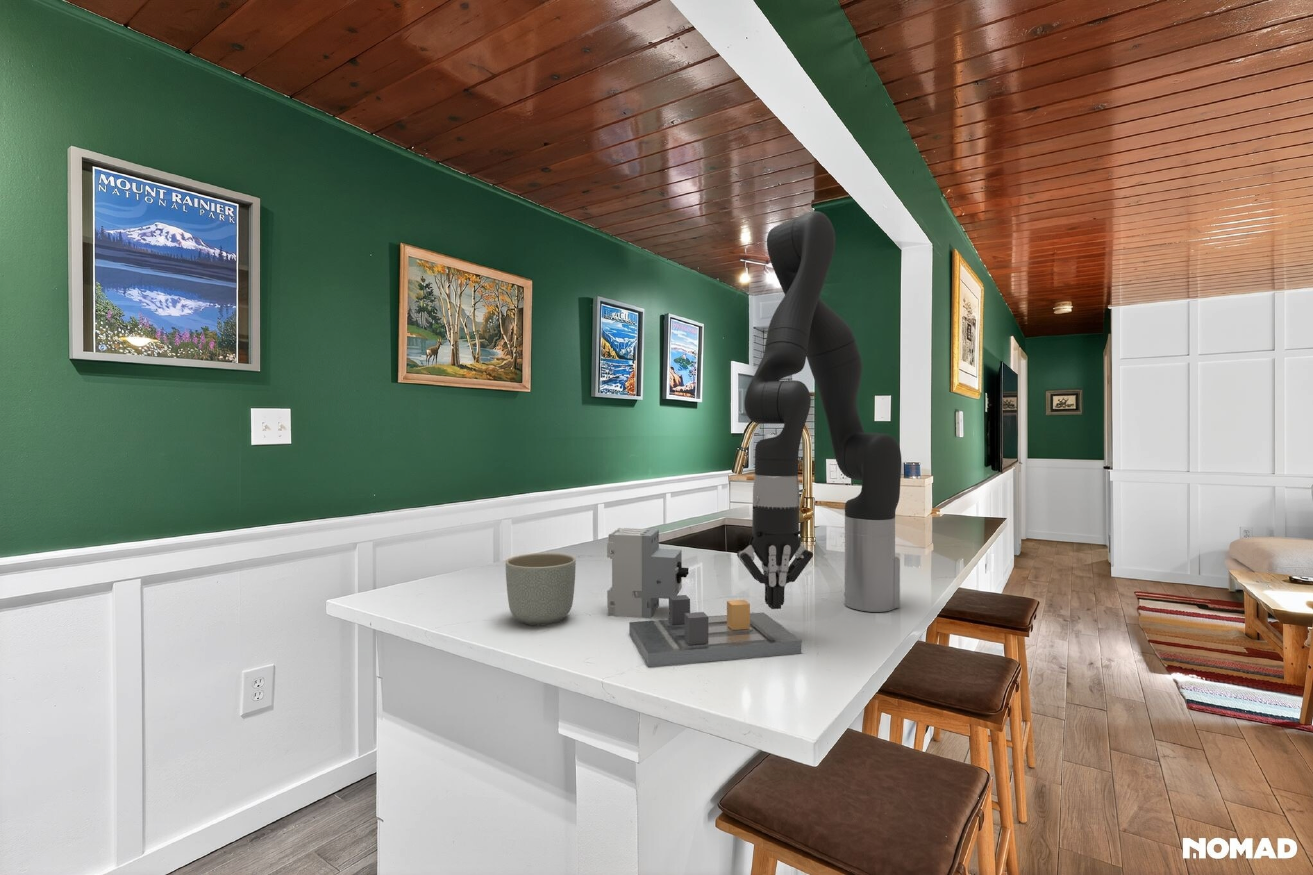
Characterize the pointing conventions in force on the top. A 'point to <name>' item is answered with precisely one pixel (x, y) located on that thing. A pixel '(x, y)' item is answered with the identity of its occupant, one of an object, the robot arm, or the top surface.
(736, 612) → the toggle
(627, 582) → the circuit breaker
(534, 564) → the planter
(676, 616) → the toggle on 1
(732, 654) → the grey base plate
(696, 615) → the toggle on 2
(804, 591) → the top surface
